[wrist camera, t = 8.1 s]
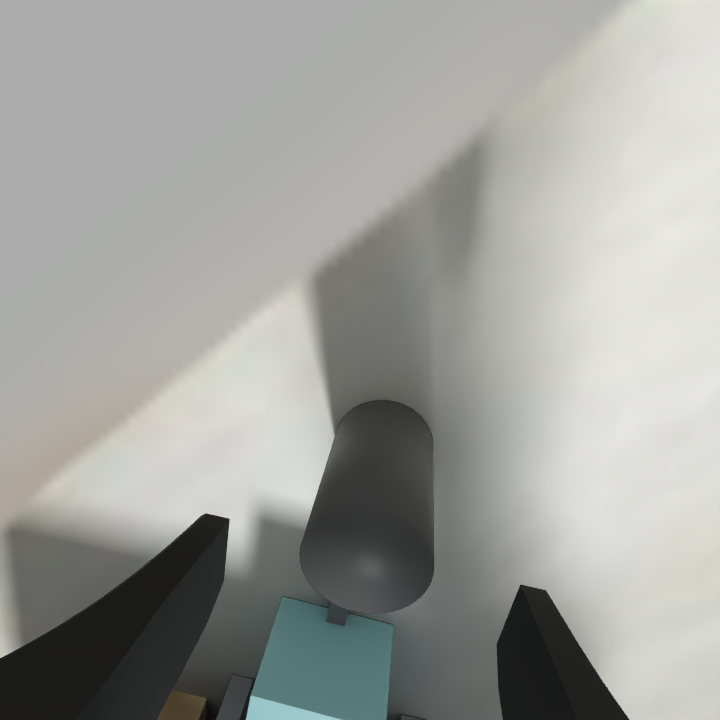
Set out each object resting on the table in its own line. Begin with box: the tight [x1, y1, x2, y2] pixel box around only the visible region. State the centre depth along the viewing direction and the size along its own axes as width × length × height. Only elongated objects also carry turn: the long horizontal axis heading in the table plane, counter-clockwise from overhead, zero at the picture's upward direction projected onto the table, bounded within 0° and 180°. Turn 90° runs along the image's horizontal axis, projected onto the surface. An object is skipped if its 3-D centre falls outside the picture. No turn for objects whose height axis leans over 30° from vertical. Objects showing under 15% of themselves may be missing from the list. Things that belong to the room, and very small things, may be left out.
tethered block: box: [246, 400, 434, 720], centre depth 19 cm, size 5×16×6 cm, turn 168°
